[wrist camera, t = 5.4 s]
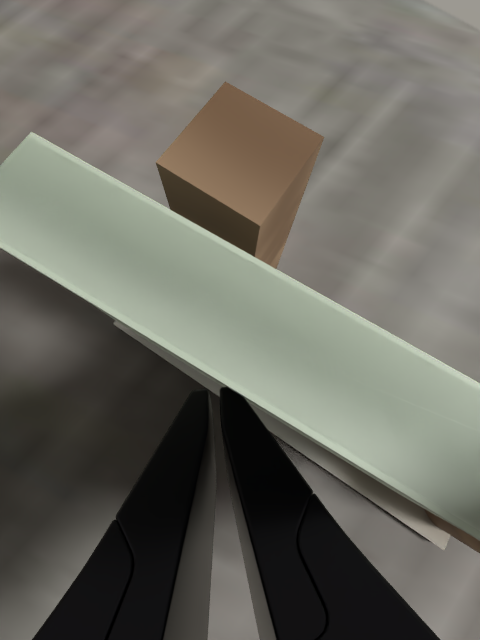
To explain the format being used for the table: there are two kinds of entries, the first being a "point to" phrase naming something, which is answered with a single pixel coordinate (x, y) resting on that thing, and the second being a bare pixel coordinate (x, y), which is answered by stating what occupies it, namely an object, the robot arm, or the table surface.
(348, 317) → the pale green flat panel
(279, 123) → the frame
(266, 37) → the table surface
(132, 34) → the table surface
